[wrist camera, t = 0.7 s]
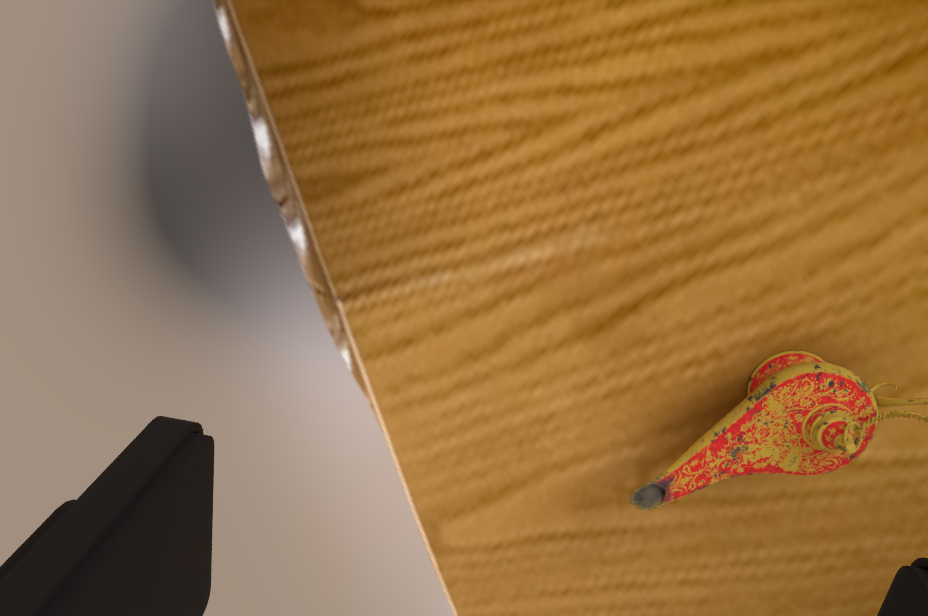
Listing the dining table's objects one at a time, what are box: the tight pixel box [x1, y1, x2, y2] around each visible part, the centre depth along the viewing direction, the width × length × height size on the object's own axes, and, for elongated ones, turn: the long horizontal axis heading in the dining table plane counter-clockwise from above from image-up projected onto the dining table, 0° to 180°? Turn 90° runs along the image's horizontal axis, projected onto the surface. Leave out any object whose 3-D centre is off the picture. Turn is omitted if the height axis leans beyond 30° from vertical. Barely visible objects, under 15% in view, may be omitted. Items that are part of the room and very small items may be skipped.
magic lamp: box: [630, 351, 928, 510], centre depth 42 cm, size 7×18×11 cm, turn 113°
